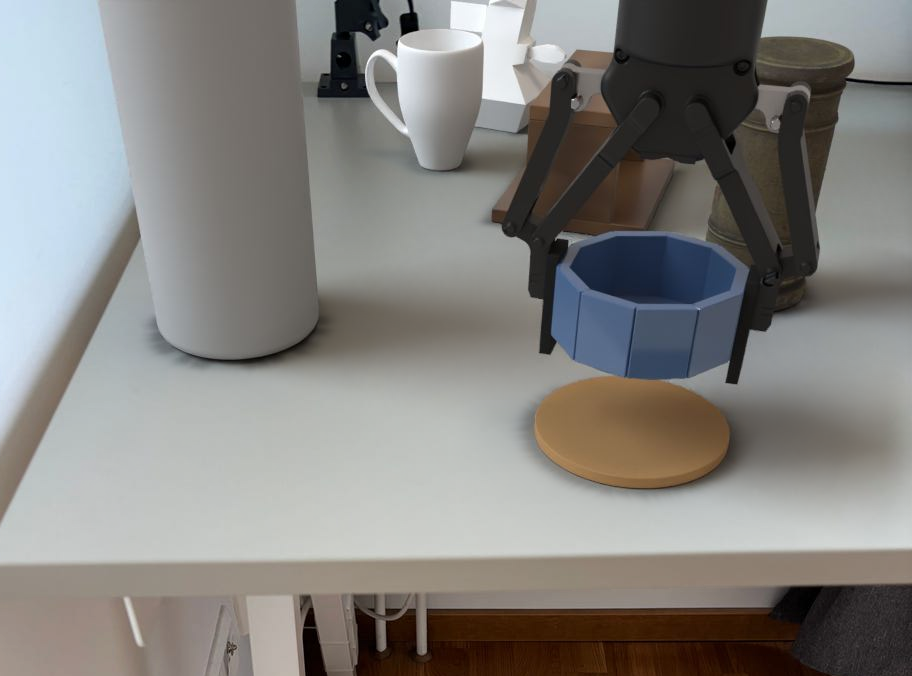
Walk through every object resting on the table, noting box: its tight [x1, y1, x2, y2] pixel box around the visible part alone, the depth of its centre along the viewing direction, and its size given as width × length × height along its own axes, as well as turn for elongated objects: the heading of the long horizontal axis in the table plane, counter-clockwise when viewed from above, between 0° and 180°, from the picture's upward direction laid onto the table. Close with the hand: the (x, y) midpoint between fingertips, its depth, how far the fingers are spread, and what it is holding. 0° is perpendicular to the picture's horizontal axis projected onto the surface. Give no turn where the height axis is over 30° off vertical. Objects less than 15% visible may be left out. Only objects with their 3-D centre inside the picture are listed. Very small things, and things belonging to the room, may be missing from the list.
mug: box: [364, 28, 484, 171], centre depth 108 cm, size 12×8×11 cm
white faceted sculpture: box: [449, 0, 568, 134], centre depth 117 cm, size 8×14×14 cm, turn 64°
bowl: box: [551, 230, 750, 381], centre depth 67 cm, size 11×12×5 cm
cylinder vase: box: [97, 0, 320, 361], centre depth 77 cm, size 12×12×25 cm
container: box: [704, 35, 856, 312], centre depth 84 cm, size 9×9×18 cm
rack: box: [491, 48, 676, 236], centre depth 102 cm, size 14×18×10 cm
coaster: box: [533, 375, 731, 489], centre depth 73 cm, size 13×13×1 cm
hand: (639, 359), depth 70 cm, fingers closed on bowl, 11 cm apart
